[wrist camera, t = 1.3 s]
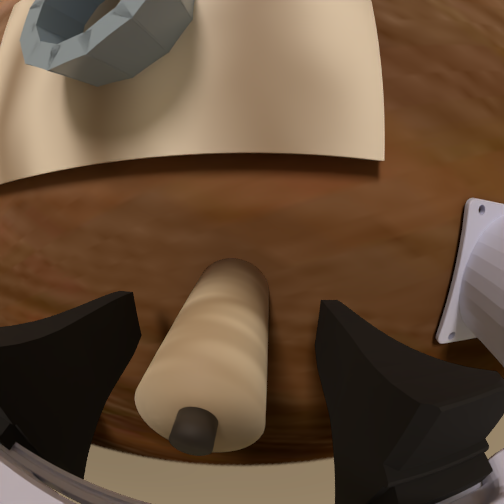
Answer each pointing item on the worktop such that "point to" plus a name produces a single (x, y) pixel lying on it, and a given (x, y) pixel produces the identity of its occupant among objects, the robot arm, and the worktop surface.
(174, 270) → the worktop surface
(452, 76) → the worktop surface
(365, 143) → the board
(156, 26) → the grey faceted ring
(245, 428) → the wick peg
